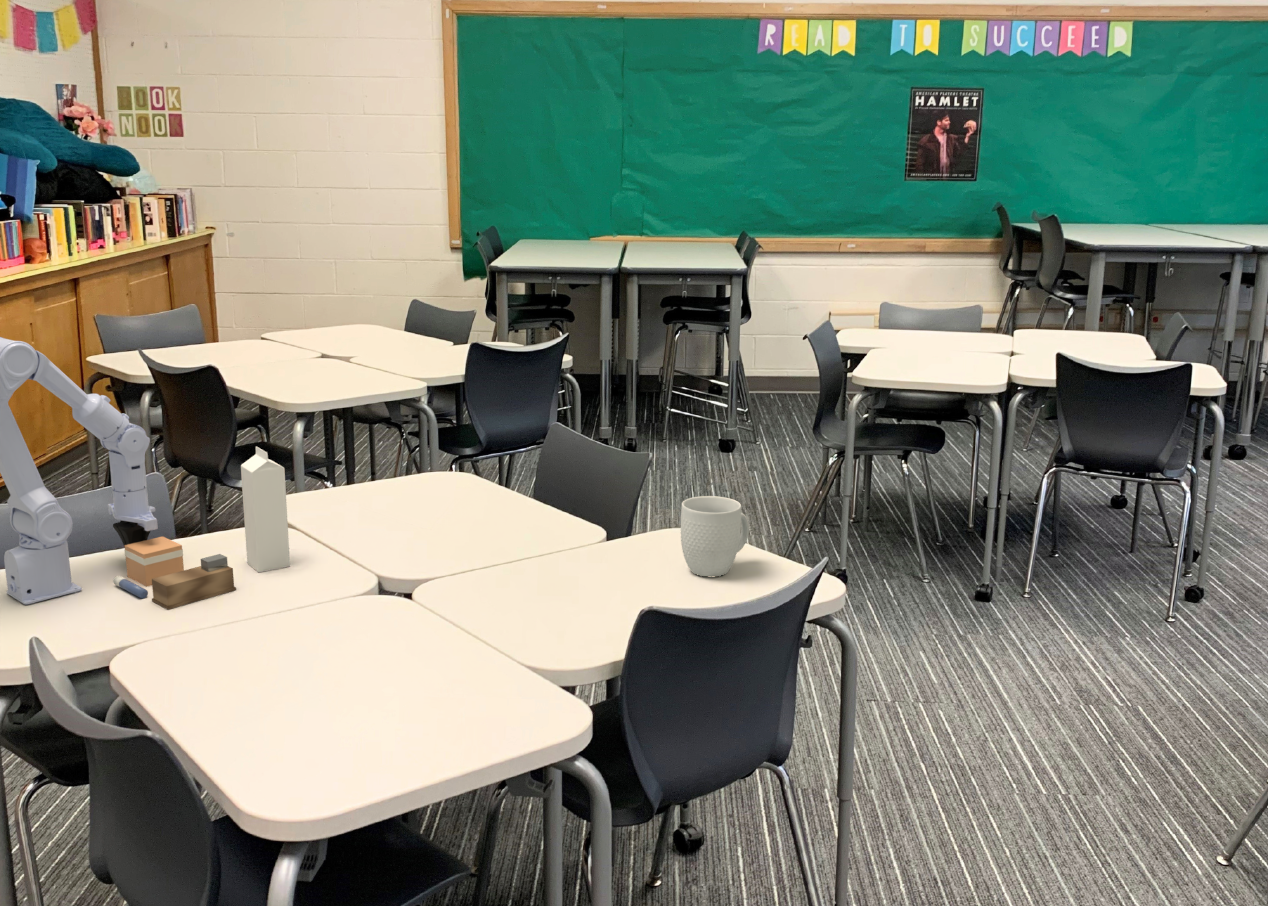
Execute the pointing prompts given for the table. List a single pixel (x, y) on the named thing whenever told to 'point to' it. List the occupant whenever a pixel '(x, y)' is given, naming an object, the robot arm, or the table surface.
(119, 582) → the marker
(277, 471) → the milk
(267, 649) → the table surface
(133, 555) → the carton
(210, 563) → the eraser
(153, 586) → the podium
